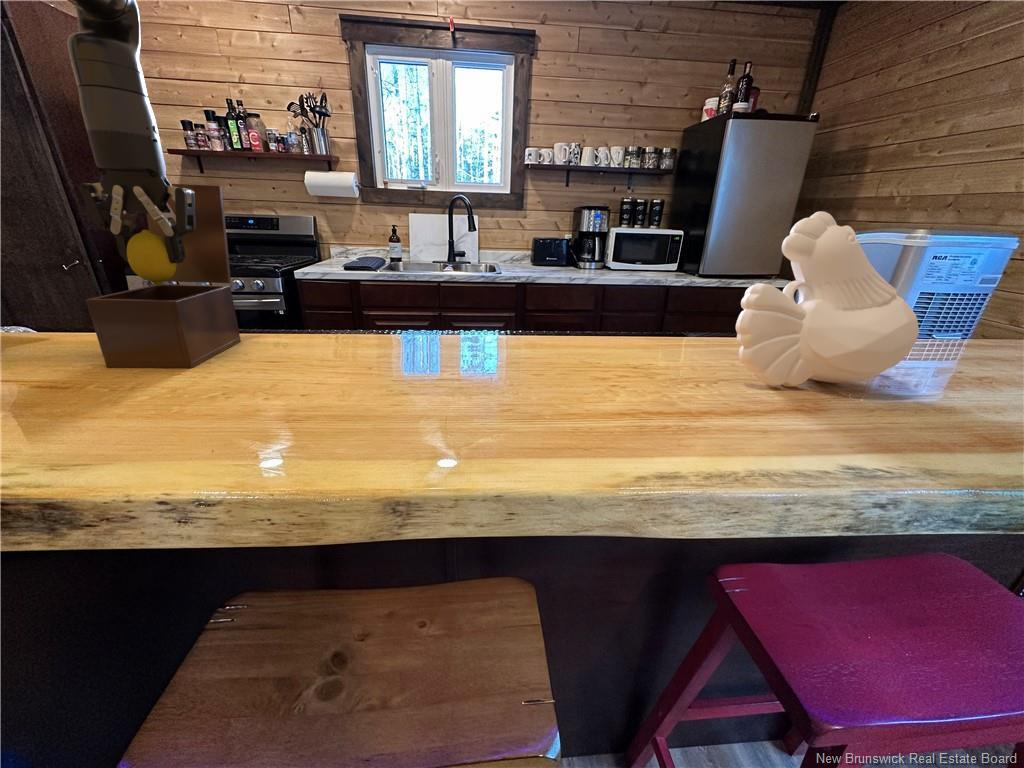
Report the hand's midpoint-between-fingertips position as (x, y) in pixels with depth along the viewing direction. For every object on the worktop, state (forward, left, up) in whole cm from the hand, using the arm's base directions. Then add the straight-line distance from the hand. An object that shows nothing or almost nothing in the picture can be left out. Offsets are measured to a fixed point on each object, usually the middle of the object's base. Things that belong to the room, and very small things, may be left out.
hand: (155, 261), depth 64 cm
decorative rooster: (+99, -9, -14) cm, 101 cm away
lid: (0, +9, +4) cm, 9 cm away
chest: (0, +1, -14) cm, 14 cm away
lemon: (0, 0, -4) cm, 4 cm away
